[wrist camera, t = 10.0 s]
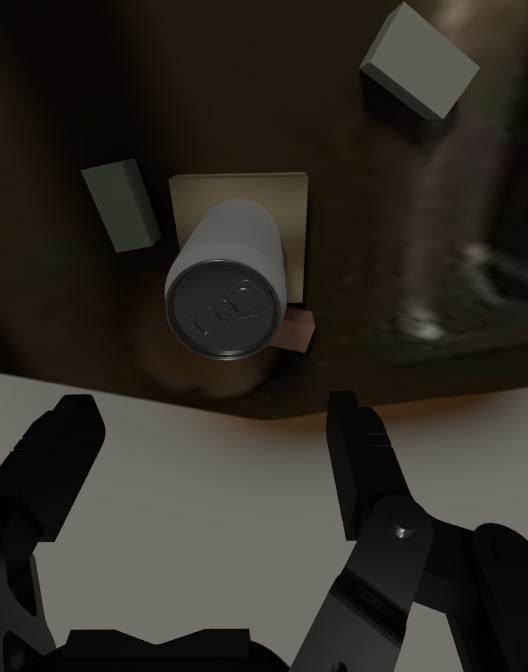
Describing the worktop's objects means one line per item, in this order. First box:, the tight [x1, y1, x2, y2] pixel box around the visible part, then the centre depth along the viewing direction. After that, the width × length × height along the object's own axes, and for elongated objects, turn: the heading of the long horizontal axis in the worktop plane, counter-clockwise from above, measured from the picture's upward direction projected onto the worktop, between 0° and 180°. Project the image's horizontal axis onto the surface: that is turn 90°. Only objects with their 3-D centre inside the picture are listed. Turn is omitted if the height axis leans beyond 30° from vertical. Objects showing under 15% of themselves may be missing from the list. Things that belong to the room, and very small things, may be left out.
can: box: [165, 199, 287, 361], centre depth 21 cm, size 6×6×12 cm
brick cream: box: [359, 2, 480, 120], centre depth 21 cm, size 6×3×3 cm
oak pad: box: [168, 172, 308, 303], centre depth 28 cm, size 10×10×2 cm
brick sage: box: [81, 158, 162, 253], centre depth 26 cm, size 6×3×3 cm, turn 11°
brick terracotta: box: [268, 306, 315, 353], centre depth 32 cm, size 6×3×3 cm, turn 76°
